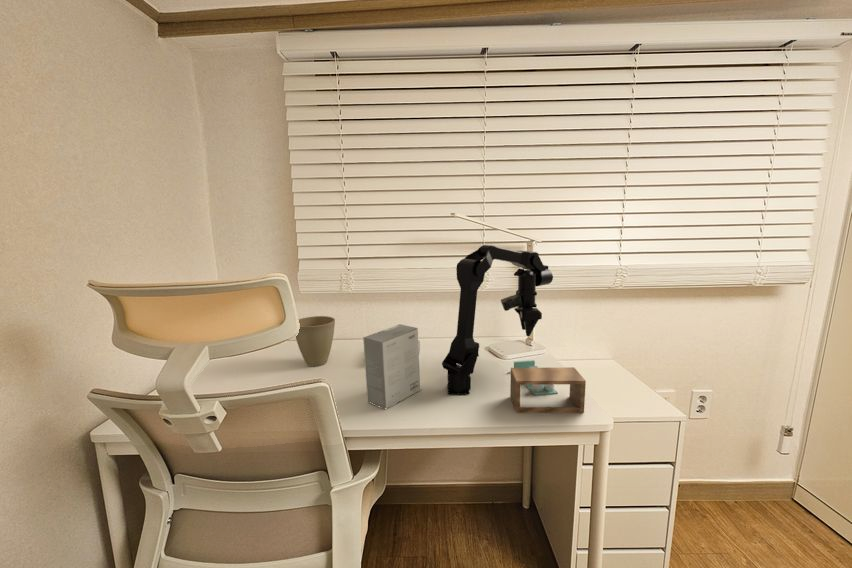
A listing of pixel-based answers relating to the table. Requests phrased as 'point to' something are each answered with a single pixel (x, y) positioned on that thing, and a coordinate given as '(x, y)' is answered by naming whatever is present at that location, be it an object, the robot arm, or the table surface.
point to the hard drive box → (392, 365)
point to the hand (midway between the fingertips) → (525, 332)
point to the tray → (526, 365)
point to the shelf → (548, 377)
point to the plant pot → (315, 339)
